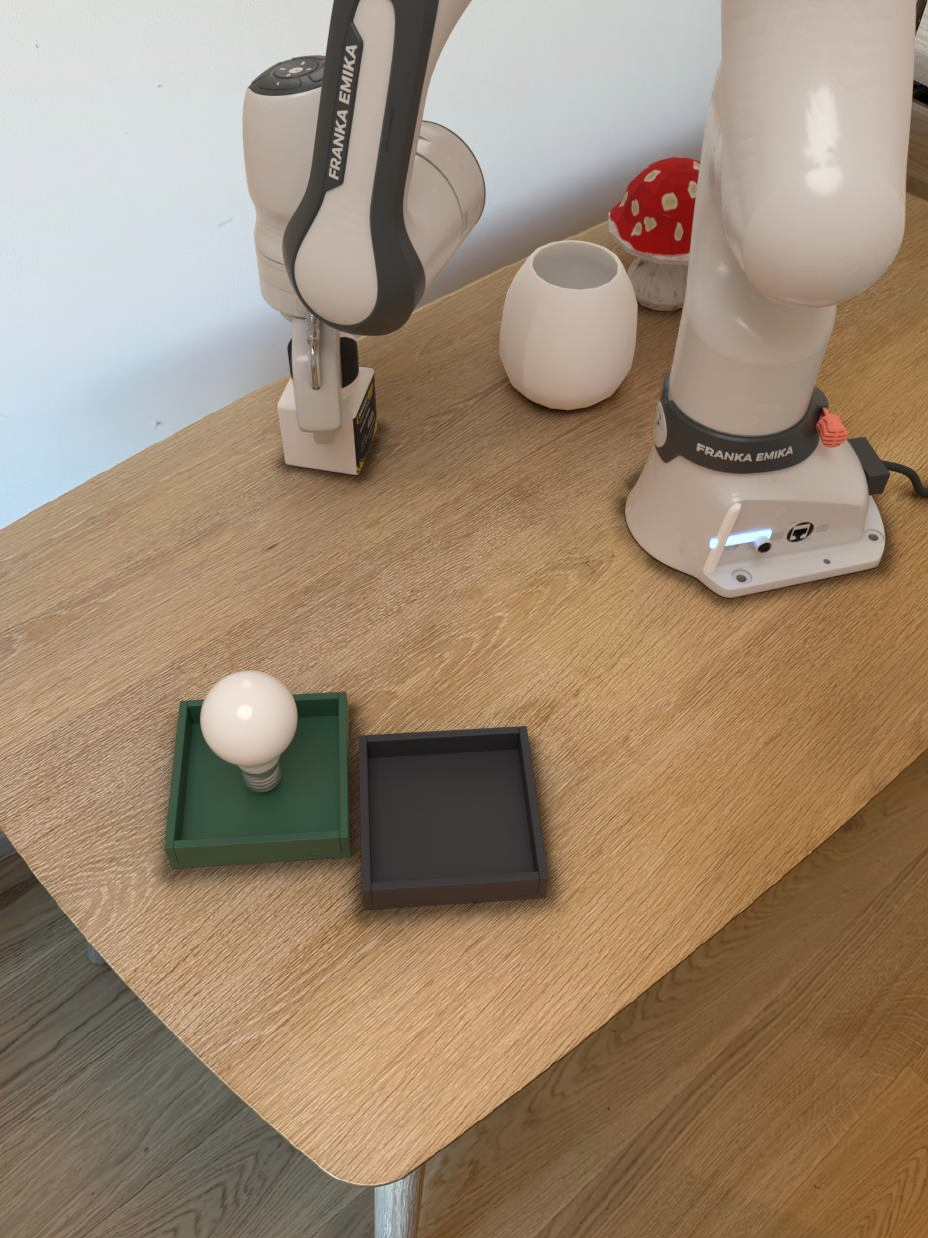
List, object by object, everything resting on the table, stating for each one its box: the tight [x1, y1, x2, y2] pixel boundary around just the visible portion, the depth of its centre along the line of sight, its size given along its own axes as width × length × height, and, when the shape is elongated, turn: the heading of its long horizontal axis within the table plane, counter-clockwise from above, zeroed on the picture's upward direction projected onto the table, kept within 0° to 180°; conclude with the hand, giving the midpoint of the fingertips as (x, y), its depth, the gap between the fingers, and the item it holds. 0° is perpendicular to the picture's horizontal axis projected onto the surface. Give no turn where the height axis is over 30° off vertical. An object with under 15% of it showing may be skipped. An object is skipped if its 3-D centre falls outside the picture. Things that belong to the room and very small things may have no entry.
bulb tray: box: [163, 691, 352, 869], centre depth 78 cm, size 12×12×3 cm
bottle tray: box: [357, 725, 549, 911], centre depth 76 cm, size 12×12×3 cm
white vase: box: [498, 239, 639, 411], centre depth 105 cm, size 13×13×14 cm
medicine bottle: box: [276, 331, 378, 476], centre depth 99 cm, size 7×7×12 cm
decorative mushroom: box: [607, 156, 701, 312], centre depth 115 cm, size 14×14×15 cm
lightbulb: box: [200, 669, 298, 792], centre depth 75 cm, size 6×6×11 cm
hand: (324, 405), depth 100 cm, fingers closed on medicine bottle, 8 cm apart
